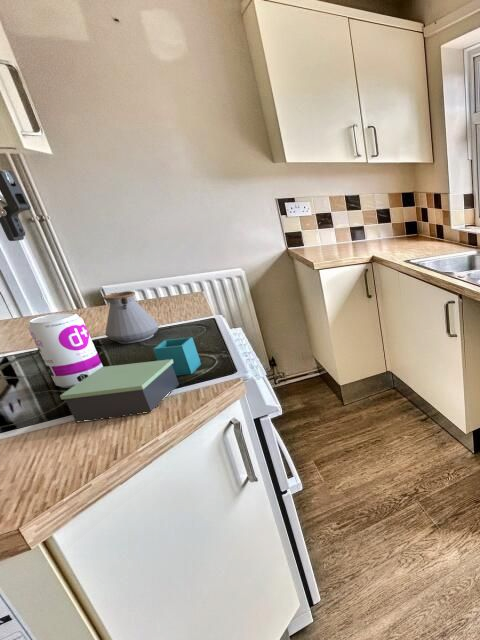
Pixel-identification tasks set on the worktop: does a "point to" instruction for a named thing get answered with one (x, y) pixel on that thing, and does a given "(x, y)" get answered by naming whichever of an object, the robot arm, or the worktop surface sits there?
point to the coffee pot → (128, 319)
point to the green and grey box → (121, 390)
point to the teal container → (179, 355)
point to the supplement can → (65, 347)
